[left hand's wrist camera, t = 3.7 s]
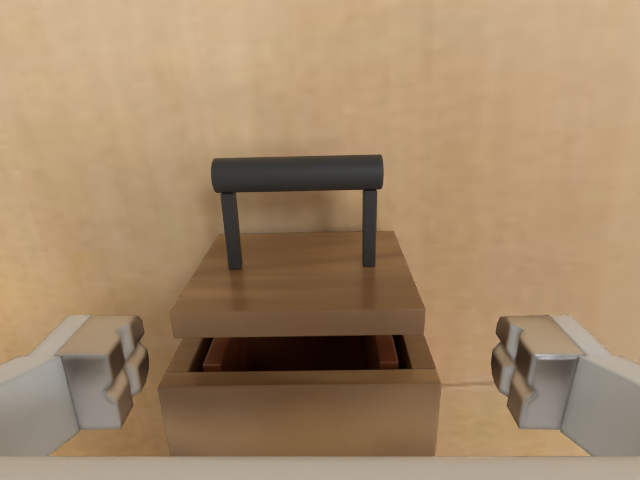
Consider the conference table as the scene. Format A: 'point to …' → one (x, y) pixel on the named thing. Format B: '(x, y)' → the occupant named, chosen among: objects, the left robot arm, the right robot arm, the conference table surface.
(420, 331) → the drawer
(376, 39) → the conference table surface
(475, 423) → the conference table surface
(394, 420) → the cabinet
